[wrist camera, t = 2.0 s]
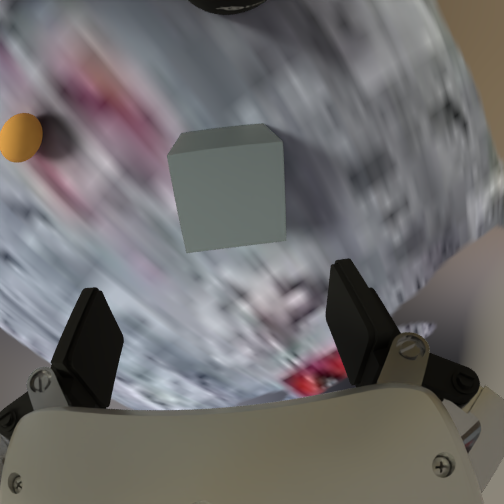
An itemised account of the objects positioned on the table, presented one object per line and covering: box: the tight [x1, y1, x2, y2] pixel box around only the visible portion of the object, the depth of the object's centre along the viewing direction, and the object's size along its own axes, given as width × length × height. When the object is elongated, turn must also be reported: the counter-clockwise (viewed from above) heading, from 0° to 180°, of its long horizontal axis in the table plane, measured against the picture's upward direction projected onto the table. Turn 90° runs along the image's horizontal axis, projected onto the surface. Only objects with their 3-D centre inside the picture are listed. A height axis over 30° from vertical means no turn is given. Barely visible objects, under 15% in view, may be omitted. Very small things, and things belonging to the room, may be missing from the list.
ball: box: [0, 113, 43, 162], centre depth 21 cm, size 5×5×5 cm
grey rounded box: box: [167, 124, 286, 253], centre depth 24 cm, size 8×8×9 cm
